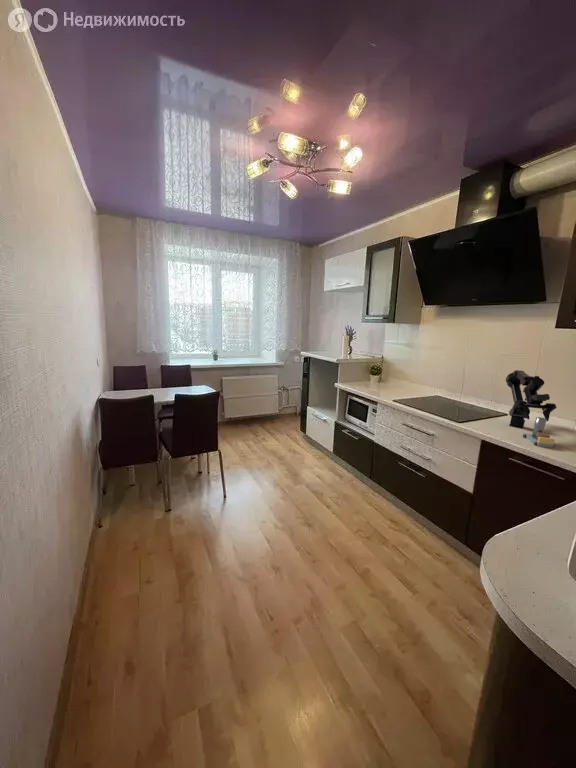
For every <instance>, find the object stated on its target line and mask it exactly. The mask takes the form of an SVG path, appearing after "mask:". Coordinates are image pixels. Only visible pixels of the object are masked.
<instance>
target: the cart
mask: <svg viewBox="0 0 576 768" xmlns="http://www.w3.org/2000/svg"><path fill="white" fill-rule="evenodd" d="M532 434H533V433H526V432H525V433H523V434H522V437H523V438H525V439H527V440H528V441H529V442H531V443H532V444H533V445H534V446H537V447H542V448H550V449H551V448H552V449H553V448H554V447H555V441H556V439H555V438H553V437H550V438H545V437H538V441H537V440H536V438H533V437H532Z"/></svg>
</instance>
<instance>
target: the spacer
mask: <svg viewBox="0 0 576 768" xmlns="http://www.w3.org/2000/svg"><path fill="white" fill-rule="evenodd" d="M546 420H547V419H545V417H540V416H536V417H535V421H534V426H533V430H532V433H531V434H532V437H533V438H536V435H537V432H541V433H545V432H544V431H545V429H546V423H547V421H546Z"/></svg>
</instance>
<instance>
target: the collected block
mask: <svg viewBox="0 0 576 768" xmlns="http://www.w3.org/2000/svg"><path fill="white" fill-rule="evenodd" d="M538 437H545V438H551V435H550V434H548V433H546V432H543V433H541V432H537V435H536V440H537V441H538Z"/></svg>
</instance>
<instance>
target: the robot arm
mask: <svg viewBox="0 0 576 768" xmlns="http://www.w3.org/2000/svg"><path fill="white" fill-rule="evenodd" d="M505 382H506V385H507V386H508V387H509V388H510V390H511V395H512V400H513V403H514V404H513V405H512V407H511V408H510V409H509V411H508V415H509V416H510V422H509V424H508V426H509V427H515V428H517V429H523V428H524V427H525V423H526V420H525V419H527V420H530V413H531V409H530V408H533V409H540V410H541V409H542V415H543V418H545V419H547V420H546V422H549V420H550V415H551V413H552V412H554V410H556V409H557V405H556V403H552V402H547V401H550V398H551V397H550V394H549V393H544V394H541V393H540V394H539V393H538V391H540V389H541V388H542V387H543V386H544V385H545V381H544V380H543V379H542V378H541V377H540V376H538V375H534V376H532V375H529V374H527V373H526V372H525V371H524V370H513V372H511V373H509V374H508V375H507V376H506V378H505ZM521 386H524V388H523V391H522V389H521ZM522 393H524V396H525V398H524V399H523V395H522ZM544 402H546V403H545V404H543V403H544Z"/></svg>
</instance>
